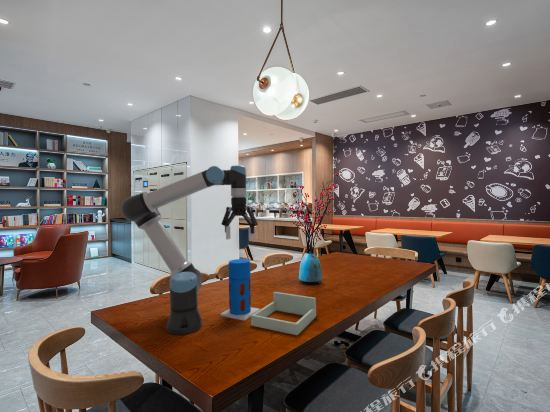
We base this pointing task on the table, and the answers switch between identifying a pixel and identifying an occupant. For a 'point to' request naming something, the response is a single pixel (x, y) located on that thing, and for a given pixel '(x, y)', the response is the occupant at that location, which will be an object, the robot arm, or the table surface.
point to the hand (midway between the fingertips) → (239, 239)
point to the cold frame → (289, 305)
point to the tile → (240, 317)
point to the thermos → (239, 286)
